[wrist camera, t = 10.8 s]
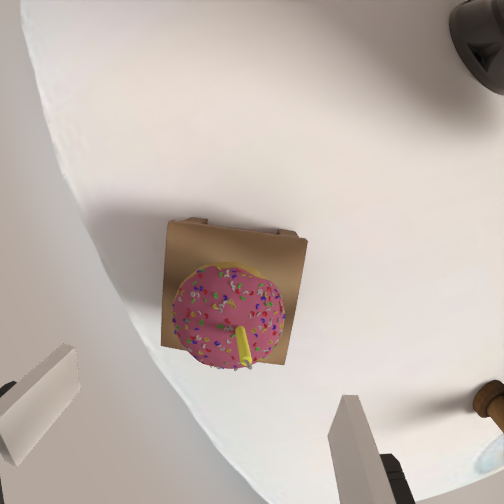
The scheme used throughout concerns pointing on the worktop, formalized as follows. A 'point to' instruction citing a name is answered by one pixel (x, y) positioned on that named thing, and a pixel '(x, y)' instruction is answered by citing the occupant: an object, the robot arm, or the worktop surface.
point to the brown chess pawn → (491, 402)
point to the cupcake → (228, 315)
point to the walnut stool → (238, 250)
